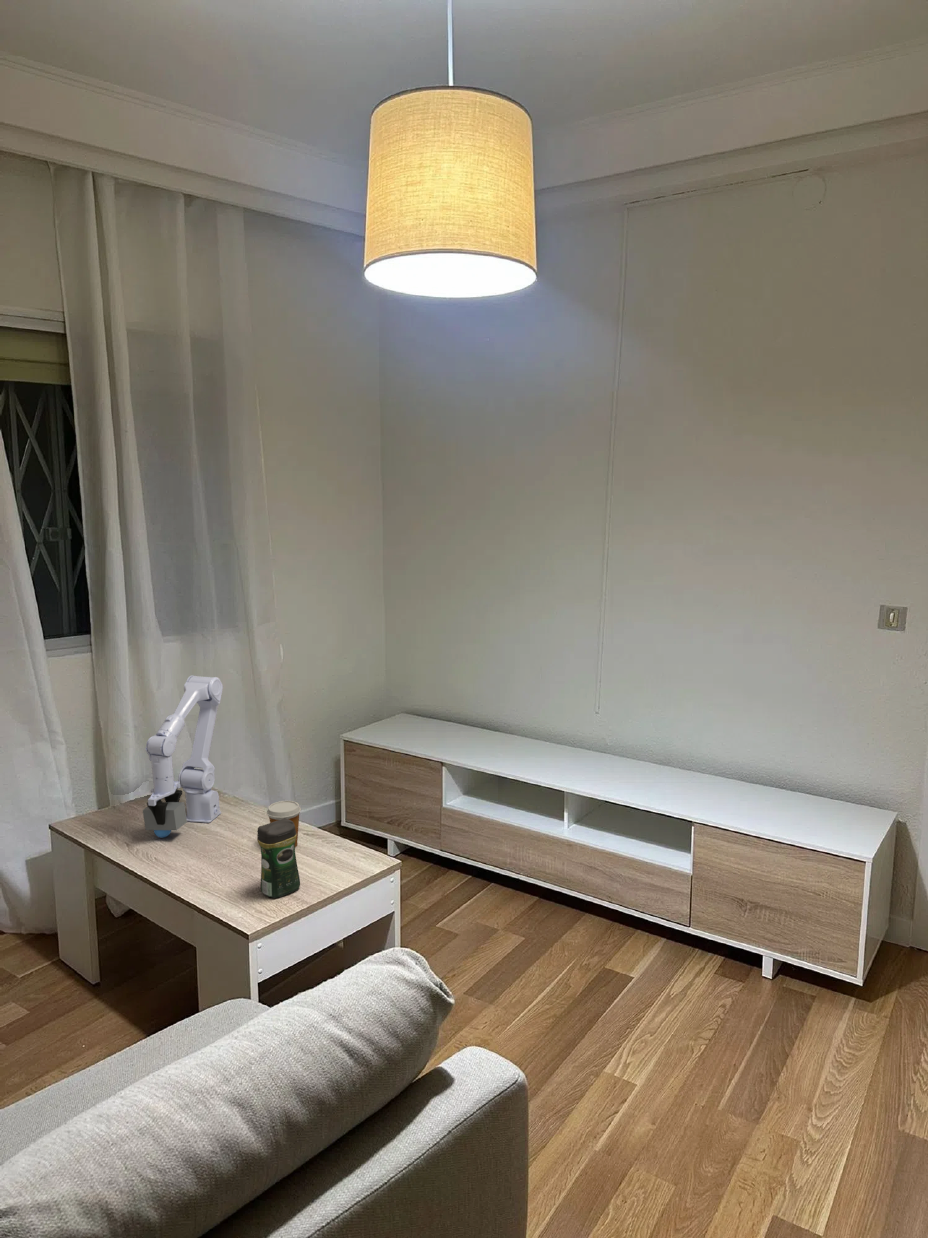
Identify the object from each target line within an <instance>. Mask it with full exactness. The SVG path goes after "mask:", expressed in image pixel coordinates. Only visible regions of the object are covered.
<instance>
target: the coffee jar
mask: <svg viewBox="0 0 928 1238" xmlns="http://www.w3.org/2000/svg"><path fill="white" fill-rule="evenodd" d="M256 837H257V843H258V846H259V847H260V855H261V858H260V859H261V860H260V861H261V862H260V863H261V868H260V870H261V871H260V891H261V892H262V893H263V894H264V896H266V897H268V898H273V899H277V898H280V897H285V896H286V895H288V894H291V893H293V892H296V891H297V890H299V888H300V887H301V880H300V878H301V877H300V875H299V874H300V873H299V867H298V862H297V856H296V847H295V840H296V829H295V825H294V823H293V822H292V821H291V820H289V819H287V818H283V819H281V820H278V821H275V822H272V823H270V822H269V823H266V824H264V825H260V826H258V827H257V836H256Z"/></svg>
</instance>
